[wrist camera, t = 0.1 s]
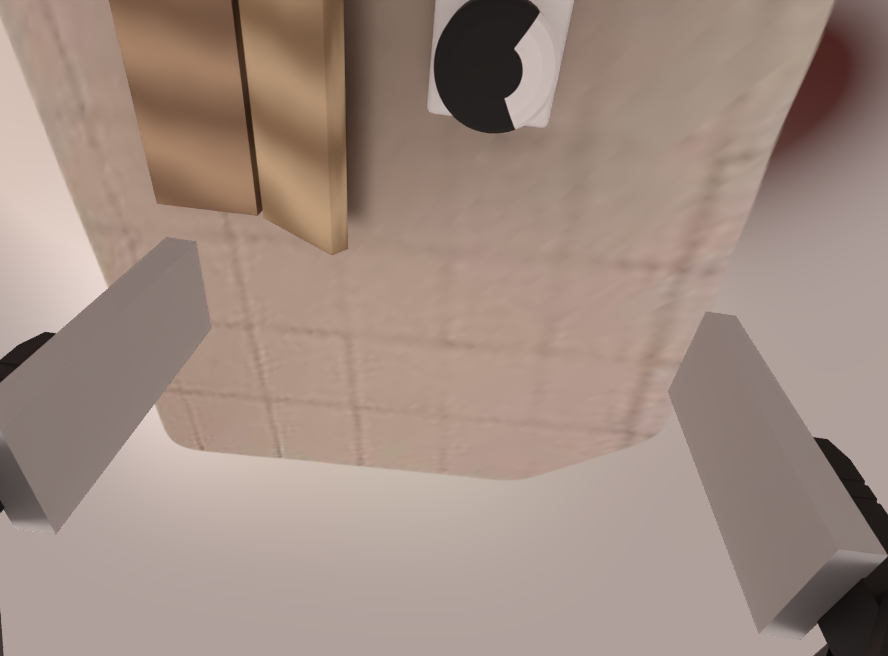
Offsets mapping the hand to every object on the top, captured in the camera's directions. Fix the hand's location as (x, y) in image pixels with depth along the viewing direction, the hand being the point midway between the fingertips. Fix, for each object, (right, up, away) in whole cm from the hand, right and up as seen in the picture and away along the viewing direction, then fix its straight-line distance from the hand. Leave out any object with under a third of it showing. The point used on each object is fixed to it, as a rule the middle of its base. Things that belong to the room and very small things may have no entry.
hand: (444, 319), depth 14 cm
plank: (-9, +14, +22) cm, 28 cm away
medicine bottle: (+3, +19, +21) cm, 28 cm away
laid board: (-17, +16, +24) cm, 34 cm away
